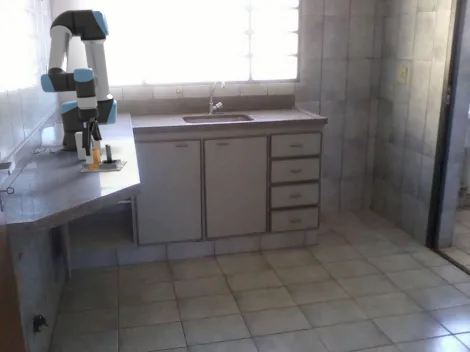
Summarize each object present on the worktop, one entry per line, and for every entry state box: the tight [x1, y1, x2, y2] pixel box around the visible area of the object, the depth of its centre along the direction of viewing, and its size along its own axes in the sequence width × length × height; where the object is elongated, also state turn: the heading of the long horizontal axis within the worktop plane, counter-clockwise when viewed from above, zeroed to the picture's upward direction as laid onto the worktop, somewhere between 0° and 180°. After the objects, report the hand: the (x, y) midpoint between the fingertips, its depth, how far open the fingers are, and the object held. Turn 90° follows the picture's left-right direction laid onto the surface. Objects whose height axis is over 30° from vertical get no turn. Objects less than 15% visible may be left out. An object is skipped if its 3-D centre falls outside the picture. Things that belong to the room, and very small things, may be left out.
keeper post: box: [80, 143, 128, 173], centre depth 203 cm, size 13×16×9 cm
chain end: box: [81, 148, 121, 168], centre depth 203 cm, size 15×7×7 cm, turn 90°
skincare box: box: [75, 132, 93, 161], centre depth 219 cm, size 6×4×12 cm
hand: (94, 159), depth 203 cm, fingers open, 12 cm apart
